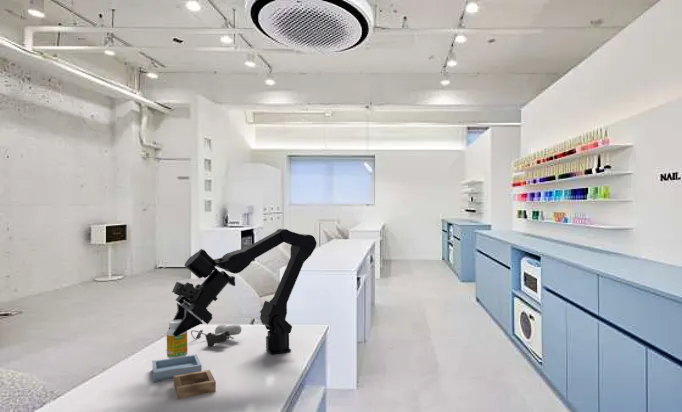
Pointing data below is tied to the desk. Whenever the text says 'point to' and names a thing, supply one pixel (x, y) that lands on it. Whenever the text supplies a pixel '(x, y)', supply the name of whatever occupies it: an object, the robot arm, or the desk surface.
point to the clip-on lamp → (220, 334)
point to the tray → (175, 367)
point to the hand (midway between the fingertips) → (171, 333)
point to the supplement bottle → (176, 342)
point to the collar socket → (190, 387)
